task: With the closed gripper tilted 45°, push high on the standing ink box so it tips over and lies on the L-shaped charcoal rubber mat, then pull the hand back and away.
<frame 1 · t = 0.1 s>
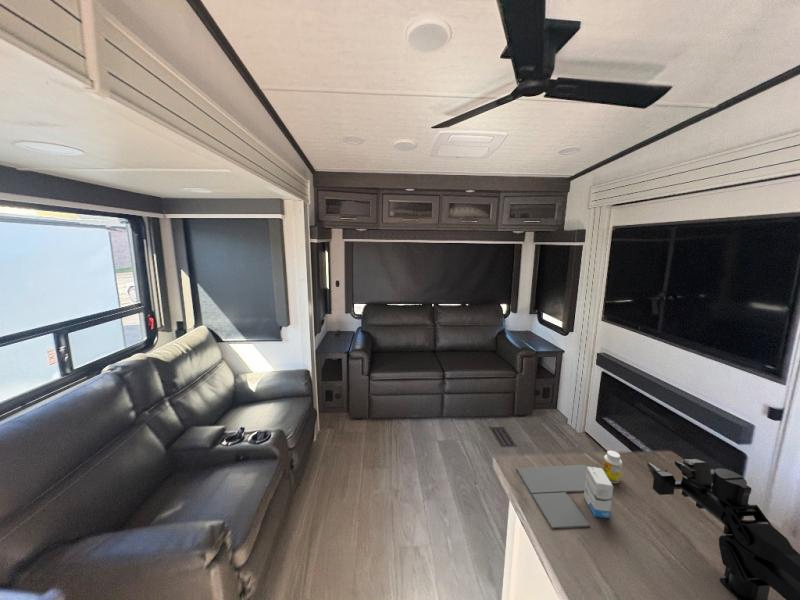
hand: (661, 462, 98), 17 cm above the table, tool horizontal, fingers open, 9 cm apart
rubber mat: (565, 493, 107), on the table
ink box: (596, 507, 102), on the table
supplement bottle: (610, 479, 114), on the table
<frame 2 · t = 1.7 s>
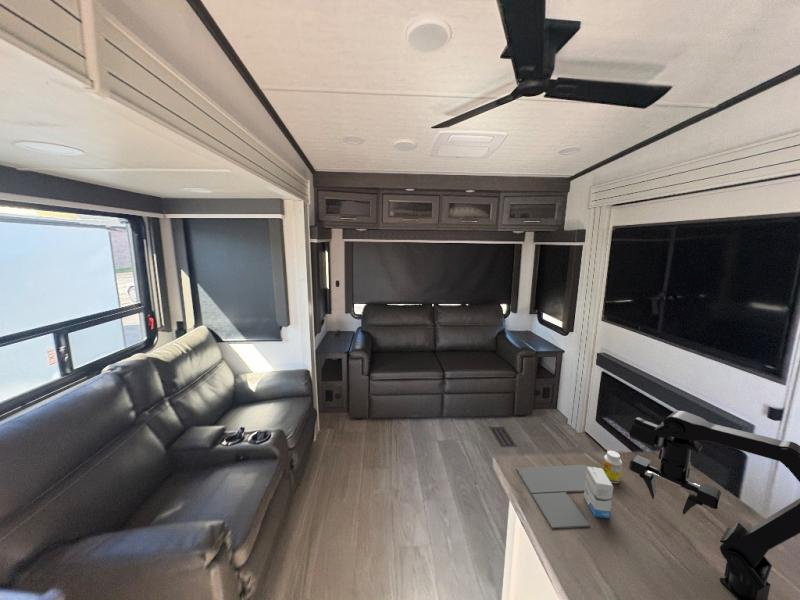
hand: (668, 505, 87), 12 cm above the table, tool pointing down, fingers open, 6 cm apart
nothing on the table moved.
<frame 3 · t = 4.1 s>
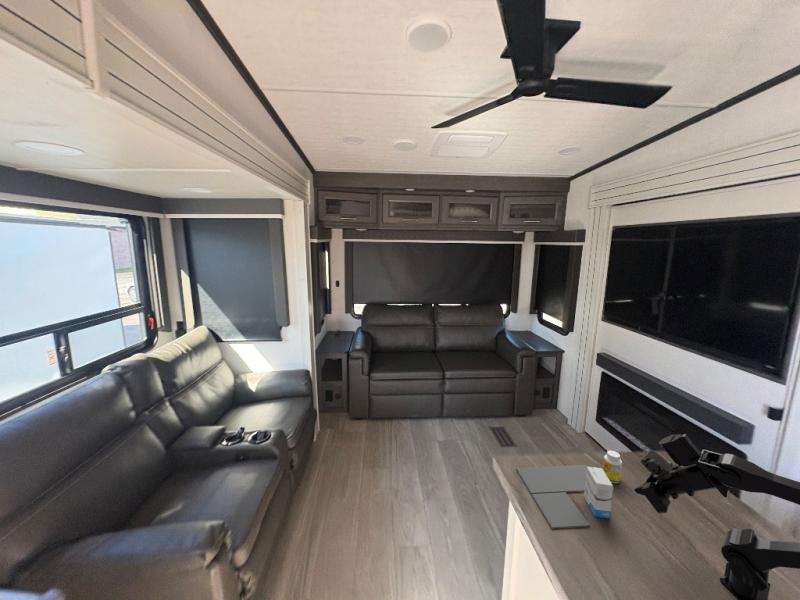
hand: (635, 490, 92), 13 cm above the table, tool tilted 45°, fingers closed
nothing on the table moved.
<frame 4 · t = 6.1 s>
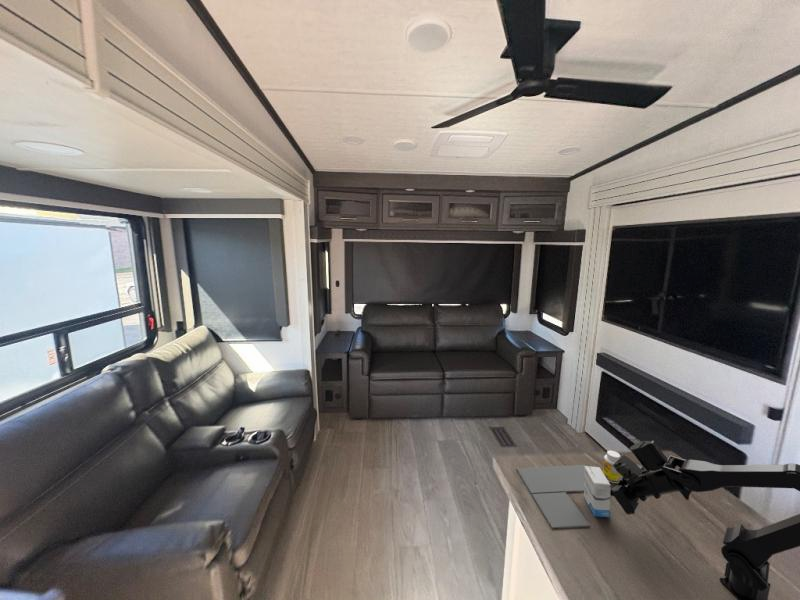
hand: (609, 492, 98), 7 cm above the table, tool tilted 45°, fingers closed
ink box: (596, 507, 102), on the table, touching gripper
everything else where it was.
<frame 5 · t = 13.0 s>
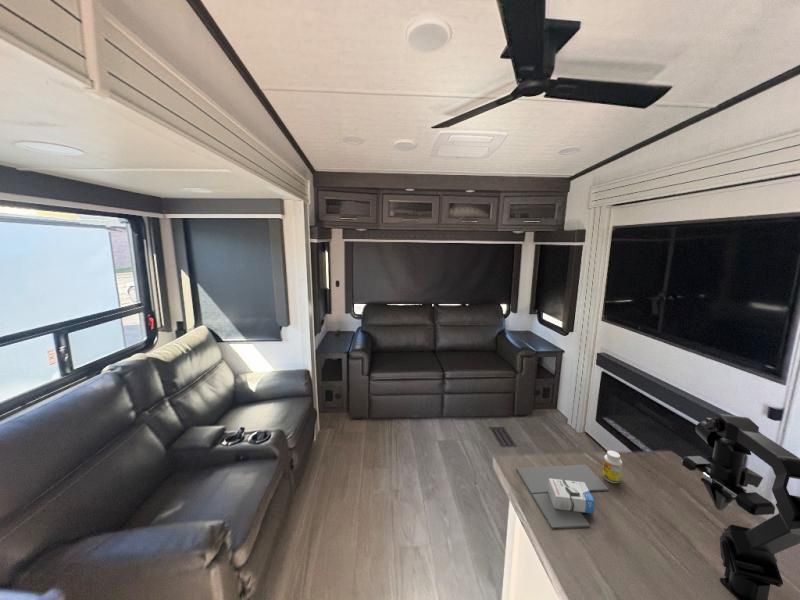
hand: (719, 509, 86), 12 cm above the table, tool pointing down, fingers closed
ink box: (589, 497, 102), point 3 cm above the table, touching rubber mat
everything else where it was.
at the end: ink box tilted 90°; ink box touching rubber mat; ink box inside the target area (8.8 cm from its centre), point 3.1 cm above the table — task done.
